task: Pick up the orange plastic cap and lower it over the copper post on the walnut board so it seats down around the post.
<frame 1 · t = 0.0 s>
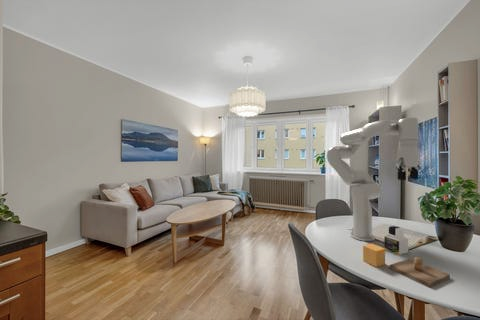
hand: (408, 179, 99), 37 cm above the table, tool pointing down, fingers open, 9 cm apart
orange cap: (374, 262, 93), on the table
medicine bottle: (396, 251, 104), on the table
walnut board: (418, 273, 84), on the table
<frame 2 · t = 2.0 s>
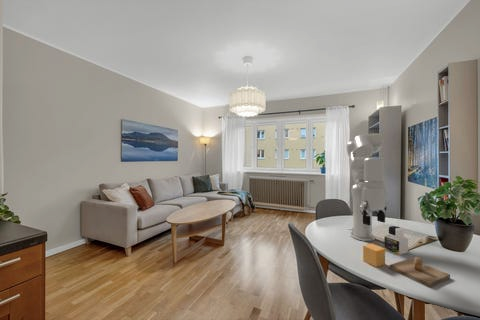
hand: (374, 223, 93), 18 cm above the table, tool pointing down, fingers open, 9 cm apart
nothing on the table moved.
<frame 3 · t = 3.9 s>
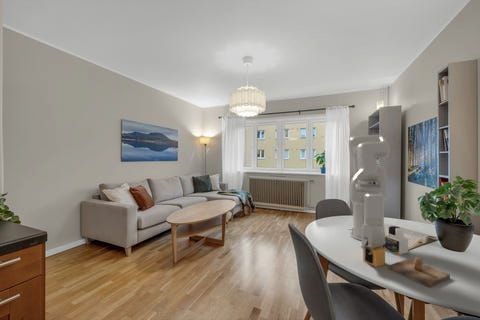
hand: (374, 260, 93), 1 cm above the table, tool pointing down, fingers closed on orange cap, 6 cm apart
orange cap: (373, 262, 93), on the table, touching gripper
everything else where it was.
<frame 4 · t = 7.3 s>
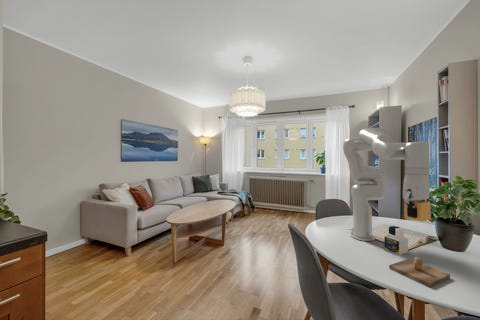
hand: (417, 215, 84), 24 cm above the table, tool pointing down, fingers closed on orange cap, 6 cm apart
orange cap: (417, 218, 84), point 23 cm above the table, touching gripper
everything else where it was.
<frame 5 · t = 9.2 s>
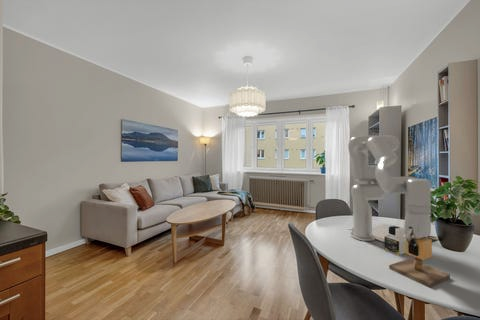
hand: (418, 252, 84), 9 cm above the table, tool pointing down, fingers closed on orange cap, 6 cm apart
orange cap: (418, 255, 84), point 8 cm above the table, touching gripper
everything else where it was.
when the fingers open (4 cm above the table, at t = 10.8 s): orange cap stays where it is, resting on walnut board.
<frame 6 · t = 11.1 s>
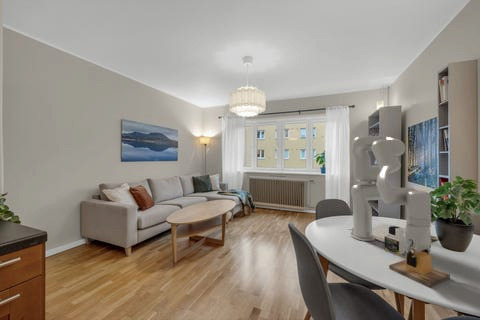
hand: (418, 263, 84), 4 cm above the table, tool pointing down, fingers open, 8 cm apart
orange cap: (418, 269, 84), point 1 cm above the table, touching walnut board
everything else where it was.
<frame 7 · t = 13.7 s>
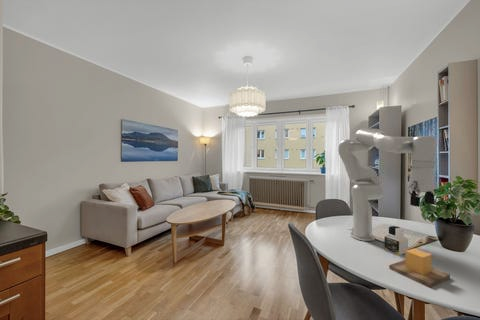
hand: (422, 204, 88), 27 cm above the table, tool pointing down, fingers open, 9 cm apart
nothing on the table moved.
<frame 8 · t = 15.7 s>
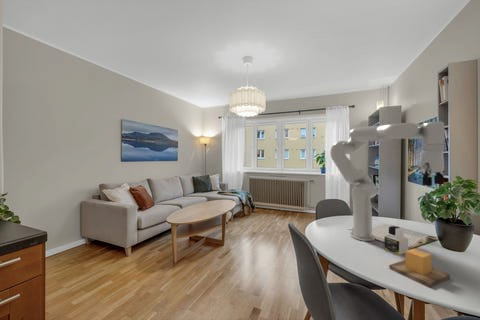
hand: (433, 184, 97), 34 cm above the table, tool pointing down, fingers open, 9 cm apart
nothing on the table moved.
at the end: orange cap 0.0 cm off-centre on the walnut board, point 1.5 cm above the walnut board's base; orange cap tilted 0°; the gripper is holding nothing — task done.
